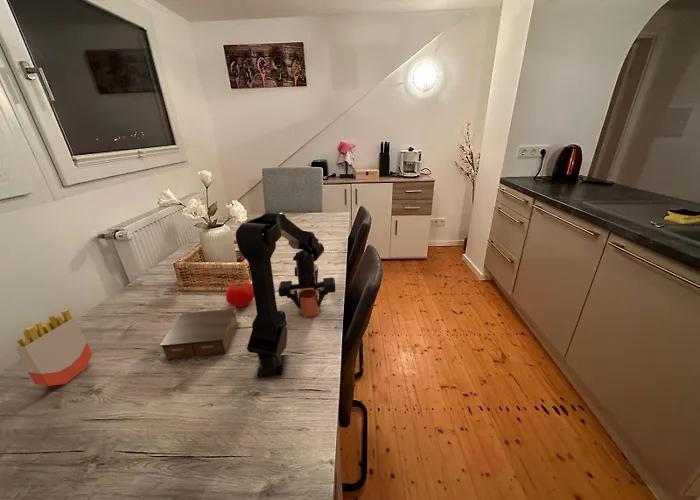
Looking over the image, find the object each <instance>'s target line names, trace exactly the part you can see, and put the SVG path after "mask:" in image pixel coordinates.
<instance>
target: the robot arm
mask: <svg viewBox="0 0 700 500" xmlns="http://www.w3.org/2000/svg"><path fill="white" fill-rule="evenodd" d="M281 238H284V239H286V240H287V241H288V245H289V246H290V247H291V248H292V249H293V250H299V251H296V253H295V254H294V255H293V258H292V261H295V264H296V266H294V277H297V282H298V283H294V284H293V281H292V280H283V281H282V280H281V281H280V282H279V285H278V290H277V291H278V296H279V297H280V298H282V297H283V298H284V297H287V299H290V300H292V302H293V303H294V304H295V306H296V308H297V309H298V310H300V304H299V292H298V291H301V290H306V289H316V288H317V289H318V307H319V308H320V307H321V305H322V303H323V300H324V298H325V296H327V295H329V294H330V293H331V294H333V293H336V291H337V290H336V280H335V278H334V277H323V278H322V280H321V281H319V282H318V283H316V275H315V269H314V264H315V262H316V261H317V260H318V259H320V258H321V256H322V255H323V254H324V252H325V246H324V245H323V244H322V242H320V241H319V238H317V237H316V235H315V233H314V232H313V231H310V230H307V229H301V228H300V227H299V226H298V225H296V224H295V223H294V222H293V221H291V220H290V219H289V218H287V216H286V214H285V213H283V212H276V211H275V212H274V211H273V212H272V211H267V212H265V213H262V215H260V216H258V217H255V218H252V219H250V220H247V221H246V222H243V223H241V224H240V225H239V226H238V228H237V229H236V231H235V242H236V245H237V247H238V250H239V253H240V254H241V256H243V257H244V259H245V260H246V261H247V262H248V267H249V272H250V280H251V284H252V286H253V292H254V298H253V299H254V304H255V310H256V316H255V318H254V319H253V321H252V322H251V328H252V329H251V333H250V336H249V340H248V343H247V346H246V350H247V352H248V353H250V354H256V355H257V359H258V364H259V365H258V369H257V373H256V377H257V378H267V377H276V376H282V375H283V373H284V364H285V356H284V355H282V354H283V353H284V351H285V349H286V348H287V346H288V345H287V343H288V328H287V326H288V322H287V315H286V312H285V311H281V310H278V307H277V306H278V305H277V299H276V298H277V297H276V291H275V283H274V276H273V267H272V256H273V254H274V252H275V250H276V248H277V242H278V241H279V240H280V239H281Z"/></svg>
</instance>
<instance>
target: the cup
mask: <svg viewBox="0 0 700 500" xmlns="http://www.w3.org/2000/svg"><path fill="white" fill-rule="evenodd" d="M298 297H299V304H300V309H299V311H300V315H301V316H302V317H304V318H305V317H306V318H312V317H315V316H317V315H318V314H319V312H320V307H318V298H319V292H318V290H317V291H316V290H315V289H306V290H302V291H301V290H299V292H298Z"/></svg>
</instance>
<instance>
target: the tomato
mask: <svg viewBox="0 0 700 500" xmlns="http://www.w3.org/2000/svg"><path fill="white" fill-rule="evenodd" d="M254 299H255V298H254V292H253V286H252V282H249V281H248V282H247V281H246V282H245V281H238V282H237V281H236V282H233V283H232V284H230V285H229V286H228V289H227V290H226V291H225V300H226V302H227V303H228V304H229V305H230V306H232V307H238V308H242V307H245V306H247V305H249V304H250V303H251V302H253V300H254Z"/></svg>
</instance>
